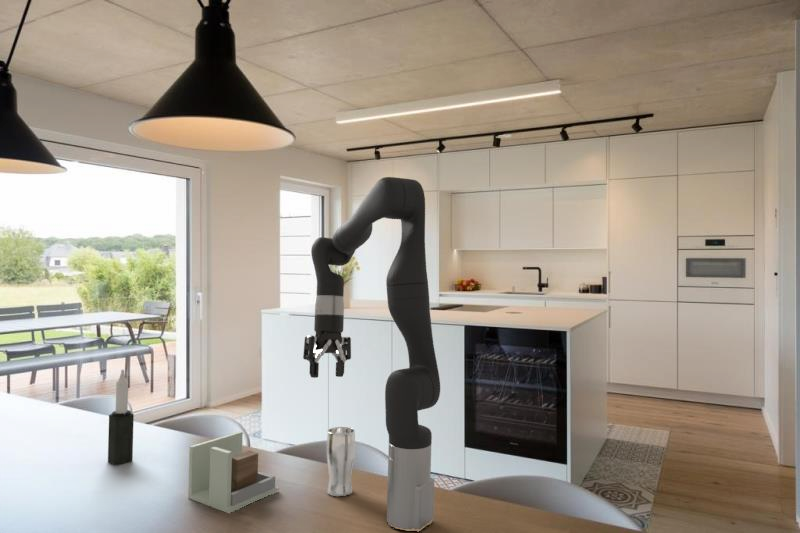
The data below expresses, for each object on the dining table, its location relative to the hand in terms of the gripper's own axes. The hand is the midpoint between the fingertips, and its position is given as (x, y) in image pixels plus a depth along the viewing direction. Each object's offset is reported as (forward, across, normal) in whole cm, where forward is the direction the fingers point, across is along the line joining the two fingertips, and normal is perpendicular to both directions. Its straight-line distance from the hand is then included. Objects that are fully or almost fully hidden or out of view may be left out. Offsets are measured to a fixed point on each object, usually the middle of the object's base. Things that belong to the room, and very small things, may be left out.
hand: (327, 377), depth 146 cm
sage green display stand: (+27, -19, +10) cm, 35 cm away
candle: (+24, -29, +51) cm, 63 cm away
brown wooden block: (+27, -19, +7) cm, 33 cm away
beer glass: (+27, 0, -7) cm, 28 cm away
